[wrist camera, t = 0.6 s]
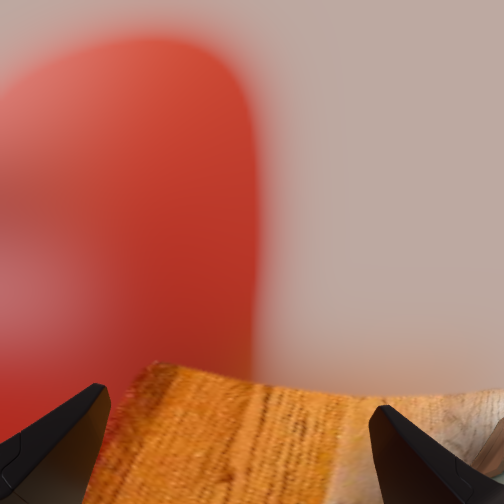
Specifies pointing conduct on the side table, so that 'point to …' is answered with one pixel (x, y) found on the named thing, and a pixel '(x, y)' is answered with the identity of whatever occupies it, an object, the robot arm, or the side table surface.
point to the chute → (492, 453)
